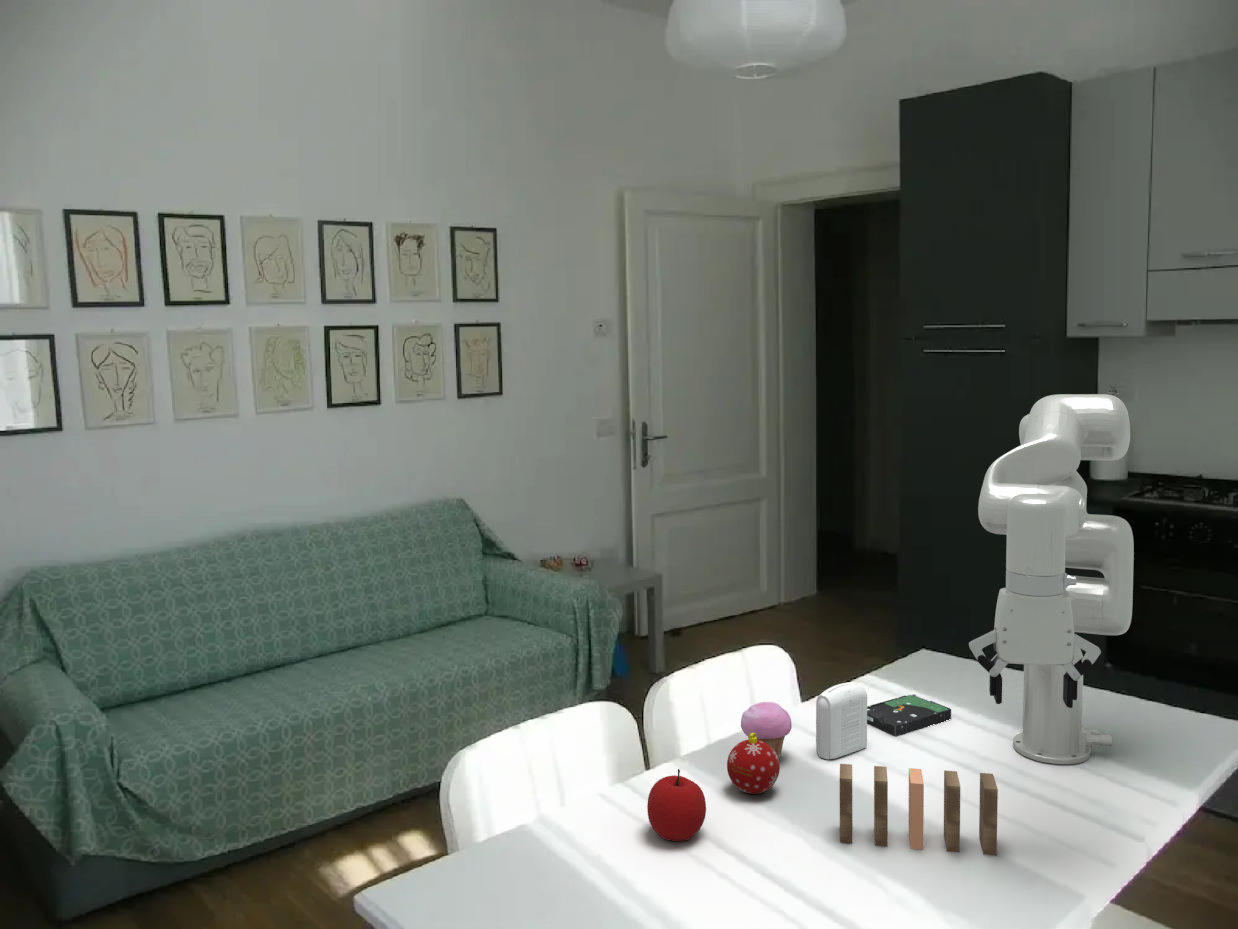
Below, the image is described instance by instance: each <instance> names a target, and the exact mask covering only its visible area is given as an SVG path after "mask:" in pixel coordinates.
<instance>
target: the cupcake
mask: <svg viewBox="0 0 1238 929" xmlns="http://www.w3.org/2000/svg"><path fill="white" fill-rule="evenodd" d="M740 728H741V731H742V732H743V734H744V735H745V736H746V737H747V738H748V739H749V735H750V733H755V734H756V737H757V740H760V741H763V742H765V743H767V744H768V745H769V746H770V747H771V748H772V749H773V750H774V751H775V753H776V755H777V757H778V760H779V759H780V757H781V754H782V750H783V745H784V740H785V737H786V736H788V735H789V734H790V733H791V731H792V728H793V727H792V718H791V716H790V714H789V712H788V711H787V710H786V709H784V708H783V707H782V706H781V705H780V704H779V703H776V702H773V701H762V702H758V703H756V704H755V703H754V704H753V705H750V707H748V709H746V710H745V711H743V712H742V715H741V719H740ZM752 736H754V734H753V735H752Z"/></svg>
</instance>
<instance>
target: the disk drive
mask: <svg viewBox="0 0 1238 929" xmlns="http://www.w3.org/2000/svg"><path fill="white" fill-rule="evenodd" d="M949 719H951V720H952V708H951V707H947V706H945V705H942V704H940V703H937V702H935V701H933V700H928V699H925V698H922V697H921V696H920V697H919V696H917V694H915V693H914V694H908V695H902V696H898V697H896V698H891V699H888V700H885V701H881V702H877V703H874V704H873V703H872V704H870V705H867V725H869V726H871V727H872V728H875V729H877V730H879V731H882V732H883V733H886V734H888V735H891V736H892V737H899V736H903V735H907V734H909V733H912V732H917V731H919V730H922V729H926V728H928V726H929V727H931V726H930V725H932V726H934V725H933V724H935V725H937V724H938V723H939V724H942V723H941V722H943V723H945V722H947V721H946V720H949ZM944 721H945V722H944ZM949 721H950V720H949ZM939 724H938V725H939Z"/></svg>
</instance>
